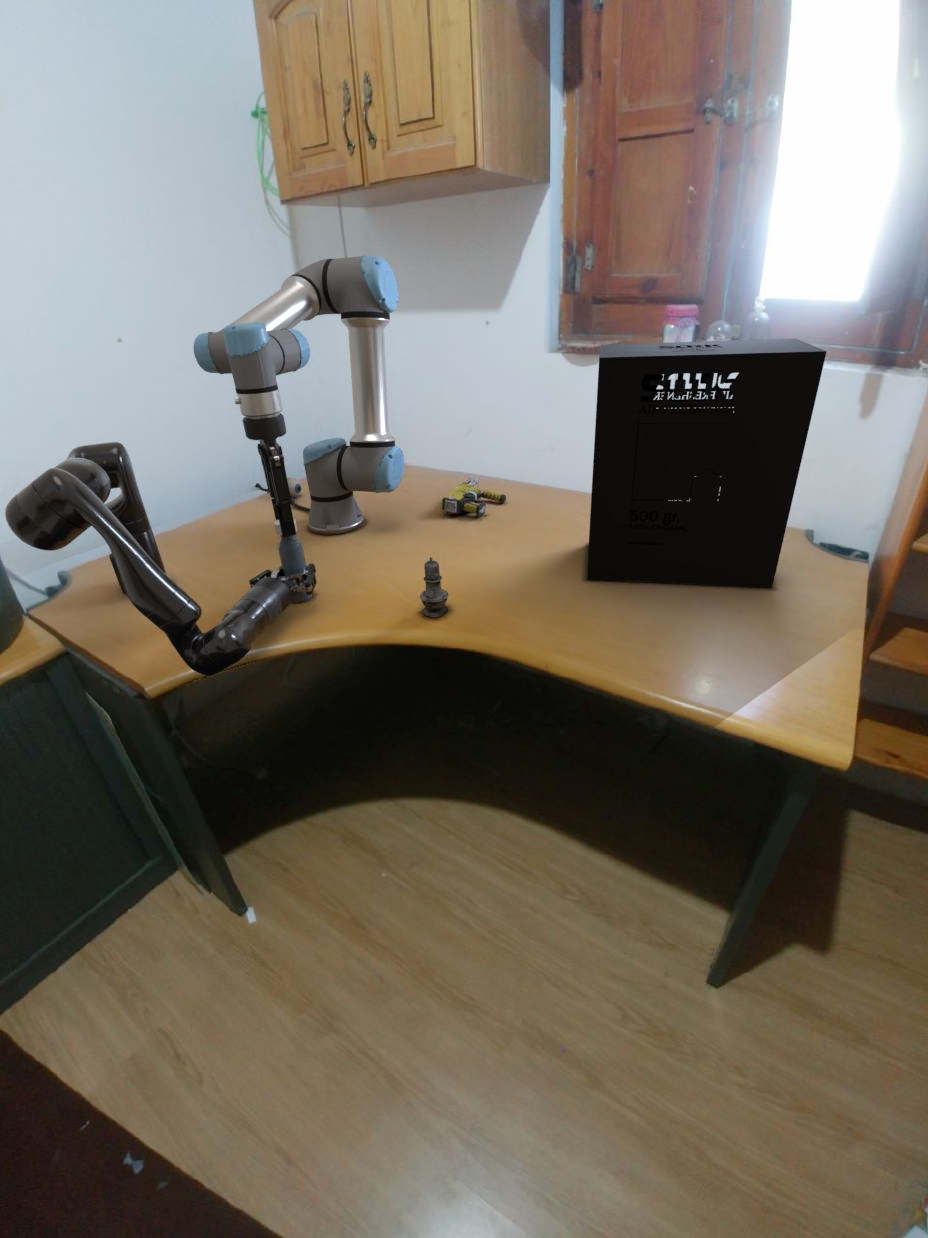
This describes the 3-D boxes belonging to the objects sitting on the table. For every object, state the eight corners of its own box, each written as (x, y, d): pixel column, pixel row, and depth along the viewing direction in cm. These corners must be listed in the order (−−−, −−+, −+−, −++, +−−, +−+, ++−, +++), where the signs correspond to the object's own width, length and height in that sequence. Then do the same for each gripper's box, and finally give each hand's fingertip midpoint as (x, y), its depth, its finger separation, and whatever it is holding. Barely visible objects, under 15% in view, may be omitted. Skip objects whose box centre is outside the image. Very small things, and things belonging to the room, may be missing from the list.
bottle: (303, 603, 129) (288, 529, 121) (284, 600, 131) (267, 527, 123) (316, 593, 133) (302, 520, 125) (298, 590, 135) (282, 518, 127)
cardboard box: (752, 548, 142) (795, 338, 119) (772, 587, 124) (826, 351, 102) (589, 543, 149) (600, 344, 127) (586, 579, 132) (599, 357, 110)
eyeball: (294, 500, 190) (290, 481, 187) (280, 497, 193) (276, 479, 190) (307, 494, 194) (304, 476, 191) (294, 492, 197) (290, 474, 194)
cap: (273, 531, 125) (270, 520, 124) (292, 525, 127) (290, 515, 126) (280, 537, 122) (278, 526, 121) (301, 531, 124) (298, 521, 123)
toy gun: (514, 482, 184) (468, 475, 188) (491, 505, 164) (440, 497, 168) (513, 497, 186) (467, 490, 190) (490, 522, 166) (439, 513, 170)
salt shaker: (446, 618, 120) (442, 563, 114) (417, 616, 122) (412, 562, 116) (452, 604, 125) (448, 551, 119) (425, 602, 126) (420, 550, 120)
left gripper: (293, 588, 114) (328, 552, 128) (225, 585, 117) (267, 549, 131) (301, 622, 118) (334, 583, 132) (234, 618, 120) (274, 580, 135)
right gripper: (235, 410, 118) (261, 522, 130) (249, 425, 105) (277, 549, 116) (273, 405, 121) (295, 515, 133) (292, 419, 107) (315, 541, 119)
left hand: (300, 566), depth 131 cm, fingers closed on bottle, 5 cm apart
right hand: (287, 531), depth 125 cm, fingers closed on cap, 4 cm apart
